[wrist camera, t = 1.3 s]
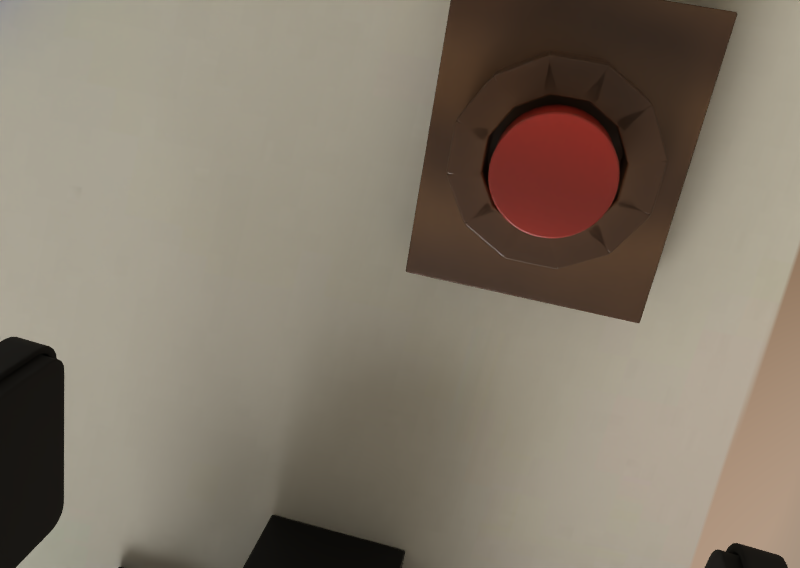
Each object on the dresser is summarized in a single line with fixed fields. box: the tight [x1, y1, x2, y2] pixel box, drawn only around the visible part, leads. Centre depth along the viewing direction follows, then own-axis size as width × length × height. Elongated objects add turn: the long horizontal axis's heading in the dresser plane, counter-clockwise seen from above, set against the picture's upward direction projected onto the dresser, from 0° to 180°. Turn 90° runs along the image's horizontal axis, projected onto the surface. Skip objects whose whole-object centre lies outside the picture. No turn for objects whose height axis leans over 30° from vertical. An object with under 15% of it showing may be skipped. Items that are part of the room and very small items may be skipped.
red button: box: [488, 104, 620, 238], centre depth 23 cm, size 4×4×2 cm
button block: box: [406, 0, 737, 323], centre depth 26 cm, size 11×9×4 cm
